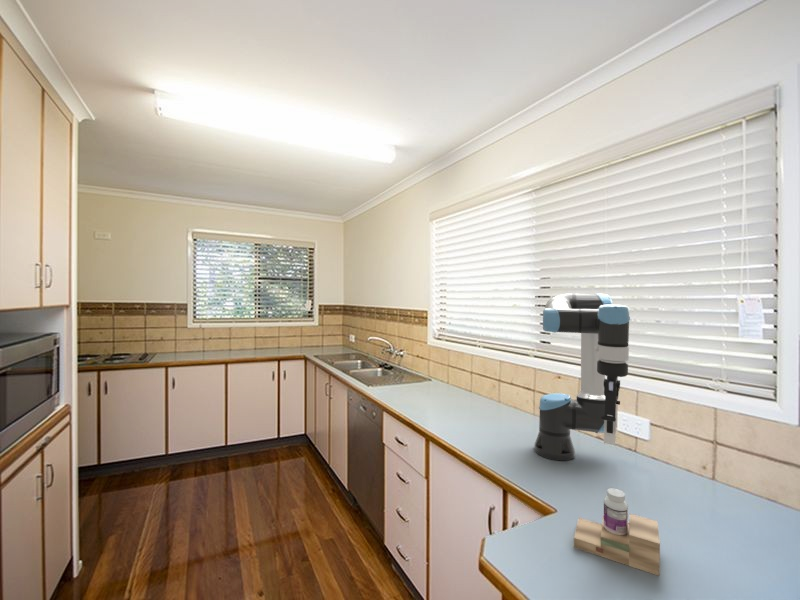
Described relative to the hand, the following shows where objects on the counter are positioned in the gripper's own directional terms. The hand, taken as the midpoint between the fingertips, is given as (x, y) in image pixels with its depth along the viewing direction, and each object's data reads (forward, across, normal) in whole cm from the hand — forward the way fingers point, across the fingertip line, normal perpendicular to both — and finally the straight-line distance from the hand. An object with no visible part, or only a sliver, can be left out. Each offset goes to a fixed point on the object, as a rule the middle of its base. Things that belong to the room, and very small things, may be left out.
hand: (610, 434), depth 105 cm
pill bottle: (+20, +12, +2) cm, 24 cm away
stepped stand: (+25, +13, +2) cm, 28 cm away
